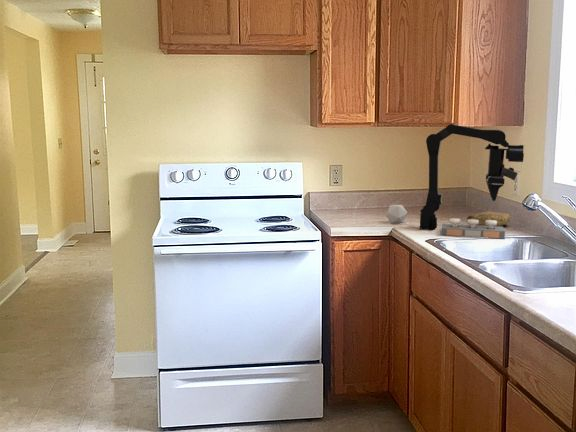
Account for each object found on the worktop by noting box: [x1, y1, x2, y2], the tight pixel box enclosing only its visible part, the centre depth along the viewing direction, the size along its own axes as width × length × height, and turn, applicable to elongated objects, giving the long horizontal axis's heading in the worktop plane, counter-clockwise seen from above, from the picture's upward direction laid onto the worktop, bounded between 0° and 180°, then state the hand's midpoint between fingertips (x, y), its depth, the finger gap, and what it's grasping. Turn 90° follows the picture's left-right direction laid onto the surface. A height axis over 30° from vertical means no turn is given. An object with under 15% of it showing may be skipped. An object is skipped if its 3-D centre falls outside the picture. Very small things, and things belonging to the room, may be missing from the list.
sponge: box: [466, 210, 511, 227], centre depth 285 cm, size 13×8×20 cm
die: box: [385, 204, 408, 225], centre depth 292 cm, size 8×9×10 cm
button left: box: [448, 217, 462, 227], centre depth 266 cm, size 4×4×4 cm
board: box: [440, 223, 506, 240], centre depth 265 cm, size 24×11×3 cm, turn 76°
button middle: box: [466, 219, 479, 228], centre depth 265 cm, size 4×4×4 cm
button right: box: [485, 220, 497, 229], centre depth 263 cm, size 4×4×4 cm
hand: (493, 199), depth 269 cm, fingers open, 9 cm apart
